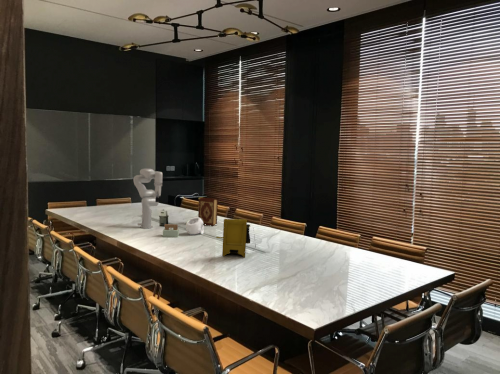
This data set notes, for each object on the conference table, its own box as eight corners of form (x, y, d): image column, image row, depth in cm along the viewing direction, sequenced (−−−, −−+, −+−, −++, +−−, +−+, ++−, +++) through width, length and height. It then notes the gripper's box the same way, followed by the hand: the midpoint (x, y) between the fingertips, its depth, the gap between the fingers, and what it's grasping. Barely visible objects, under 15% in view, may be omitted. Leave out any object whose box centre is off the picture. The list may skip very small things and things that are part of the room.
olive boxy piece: (254, 253, 316) (256, 217, 314) (255, 258, 302) (257, 220, 300) (216, 252, 315) (217, 215, 313) (215, 256, 301) (216, 218, 299)
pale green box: (162, 236, 364) (162, 229, 363) (164, 234, 374) (164, 227, 373) (177, 237, 365) (177, 229, 364) (178, 235, 375) (179, 227, 374)
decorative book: (196, 223, 440) (197, 197, 438) (200, 223, 447) (201, 197, 445) (213, 226, 430) (214, 199, 427) (216, 225, 437) (218, 199, 434)
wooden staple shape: (164, 230, 364) (164, 225, 364) (164, 229, 369) (165, 224, 369) (177, 230, 365) (177, 225, 365) (177, 229, 370) (177, 224, 370)
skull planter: (210, 231, 390) (204, 215, 382) (196, 243, 377) (190, 227, 369) (200, 229, 398) (194, 214, 390) (187, 240, 385) (181, 225, 377)
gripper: (155, 183, 391) (155, 200, 393) (153, 184, 374) (152, 202, 376) (163, 183, 392) (162, 200, 393) (160, 185, 375) (160, 202, 376)
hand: (157, 201), depth 384 cm, fingers open, 9 cm apart
